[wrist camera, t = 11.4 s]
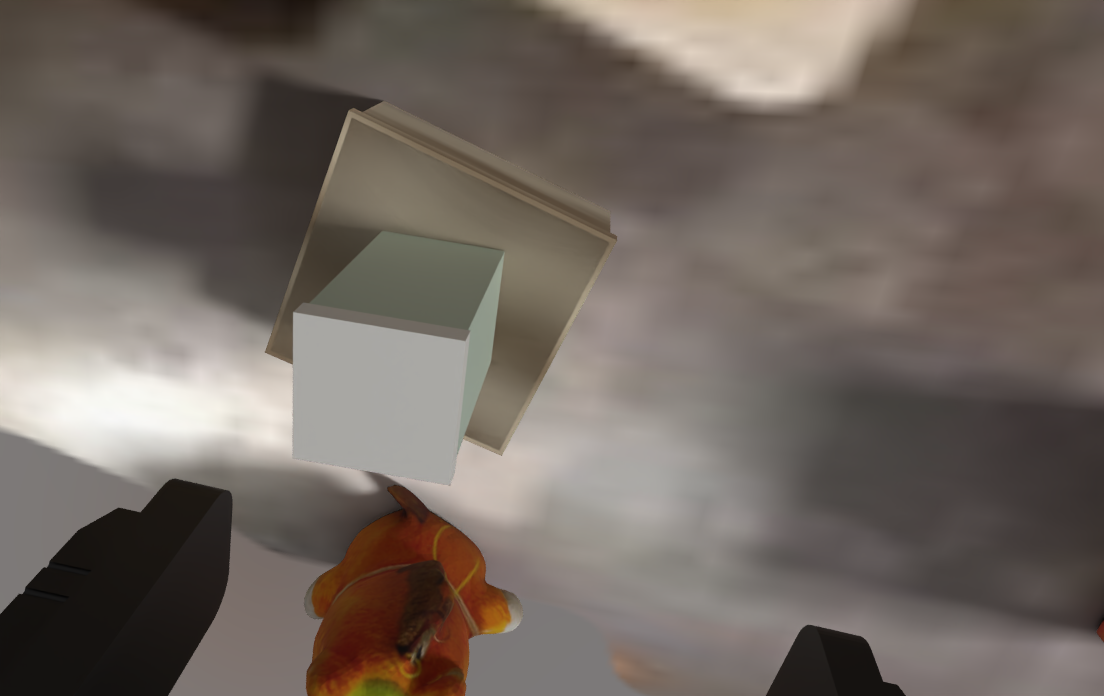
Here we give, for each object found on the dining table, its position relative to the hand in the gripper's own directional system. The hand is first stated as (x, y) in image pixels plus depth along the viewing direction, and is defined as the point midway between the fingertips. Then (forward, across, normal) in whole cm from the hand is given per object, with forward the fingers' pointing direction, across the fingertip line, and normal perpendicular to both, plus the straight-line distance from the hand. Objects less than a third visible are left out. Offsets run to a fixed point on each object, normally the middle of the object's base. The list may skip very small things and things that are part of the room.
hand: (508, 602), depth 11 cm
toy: (+26, +3, +22) cm, 34 cm away
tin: (+22, +4, +6) cm, 23 cm away
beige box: (+27, +5, +6) cm, 28 cm away
